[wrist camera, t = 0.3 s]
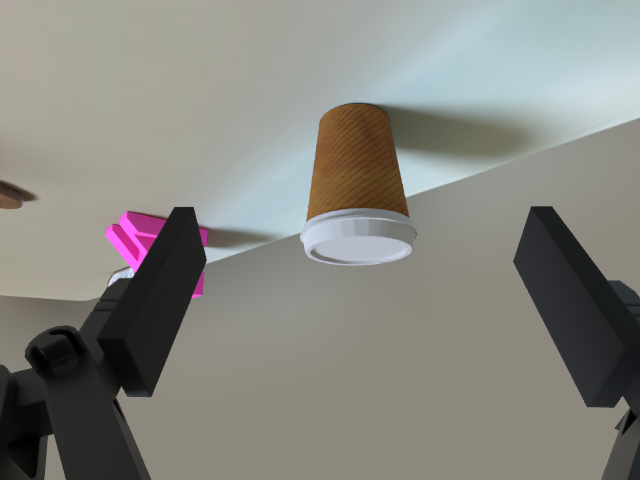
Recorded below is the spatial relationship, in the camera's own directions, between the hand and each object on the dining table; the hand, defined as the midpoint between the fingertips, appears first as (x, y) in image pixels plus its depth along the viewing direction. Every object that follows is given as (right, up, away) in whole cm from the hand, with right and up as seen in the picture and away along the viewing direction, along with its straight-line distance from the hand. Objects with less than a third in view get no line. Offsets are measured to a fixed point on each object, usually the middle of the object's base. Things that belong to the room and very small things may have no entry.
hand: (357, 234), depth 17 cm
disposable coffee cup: (+2, +10, +21) cm, 23 cm away
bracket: (-27, +2, +48) cm, 55 cm away
